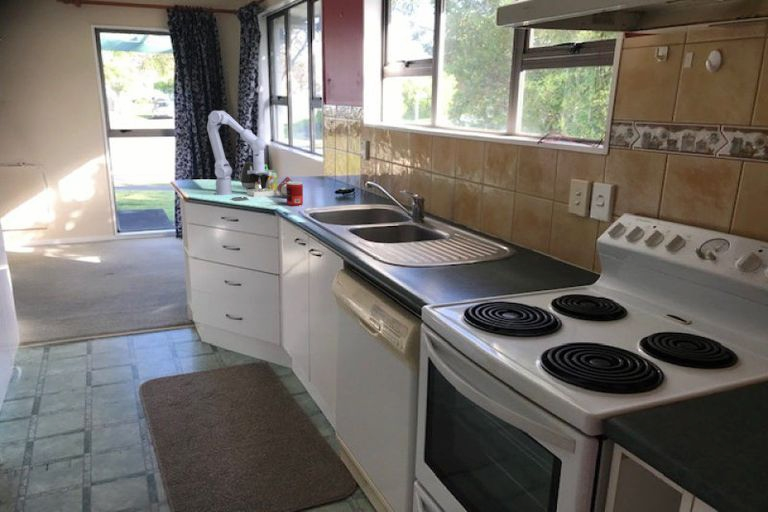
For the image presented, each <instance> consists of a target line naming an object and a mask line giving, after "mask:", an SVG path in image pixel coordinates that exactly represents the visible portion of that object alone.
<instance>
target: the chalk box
mask: <svg viewBox="0 0 768 512" xmlns="http://www.w3.org/2000/svg"><path fill="white" fill-rule="evenodd" d="M264 164H265V163H264ZM265 171H269V172H272V175H271V176H269V178H268V180H267V183H266V187H265V188H267V189H270V190H273V191H274V192H277V191H278V186H279V184H278V170H276V169H275V170H273V169H269V168H268V164H265ZM257 174H261V173H257ZM259 176H262V175H259ZM259 181H261V180H260V177H259ZM276 190H277V191H276Z"/></svg>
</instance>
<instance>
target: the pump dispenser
mask: <svg viewBox="0 0 768 512" xmlns="http://www.w3.org/2000/svg"><path fill="white" fill-rule="evenodd" d="M247 170H254V164H253V162H251V161H247V162H245V163H244V164H243V167H242V169H241V174H240V183H241V185H242V187H243V188H245V189H247V188H252V189H255V186H254V183H253V181H252V179H251V177H250V175H252V174H248V173H247Z"/></svg>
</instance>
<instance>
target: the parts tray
mask: <svg viewBox="0 0 768 512" xmlns="http://www.w3.org/2000/svg"><path fill="white" fill-rule="evenodd" d="M246 195H248V196H251V197H253V198H260V197H271V196H272V197H273V196H275V191H273V190H270V189H267V188H265V189H263V192H255V188H252V189H246Z"/></svg>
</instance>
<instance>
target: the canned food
mask: <svg viewBox="0 0 768 512" xmlns="http://www.w3.org/2000/svg"><path fill="white" fill-rule="evenodd" d="M285 183H286V182H285ZM303 188H304V186H303V182H302V181H293V182H287V183H286V190H287V198H286V204H287V206H290V207H300V206H299V205H301V206H303V205H304V198H303V197H304V191H303V190H304V189H303ZM302 204H303V205H302Z"/></svg>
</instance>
